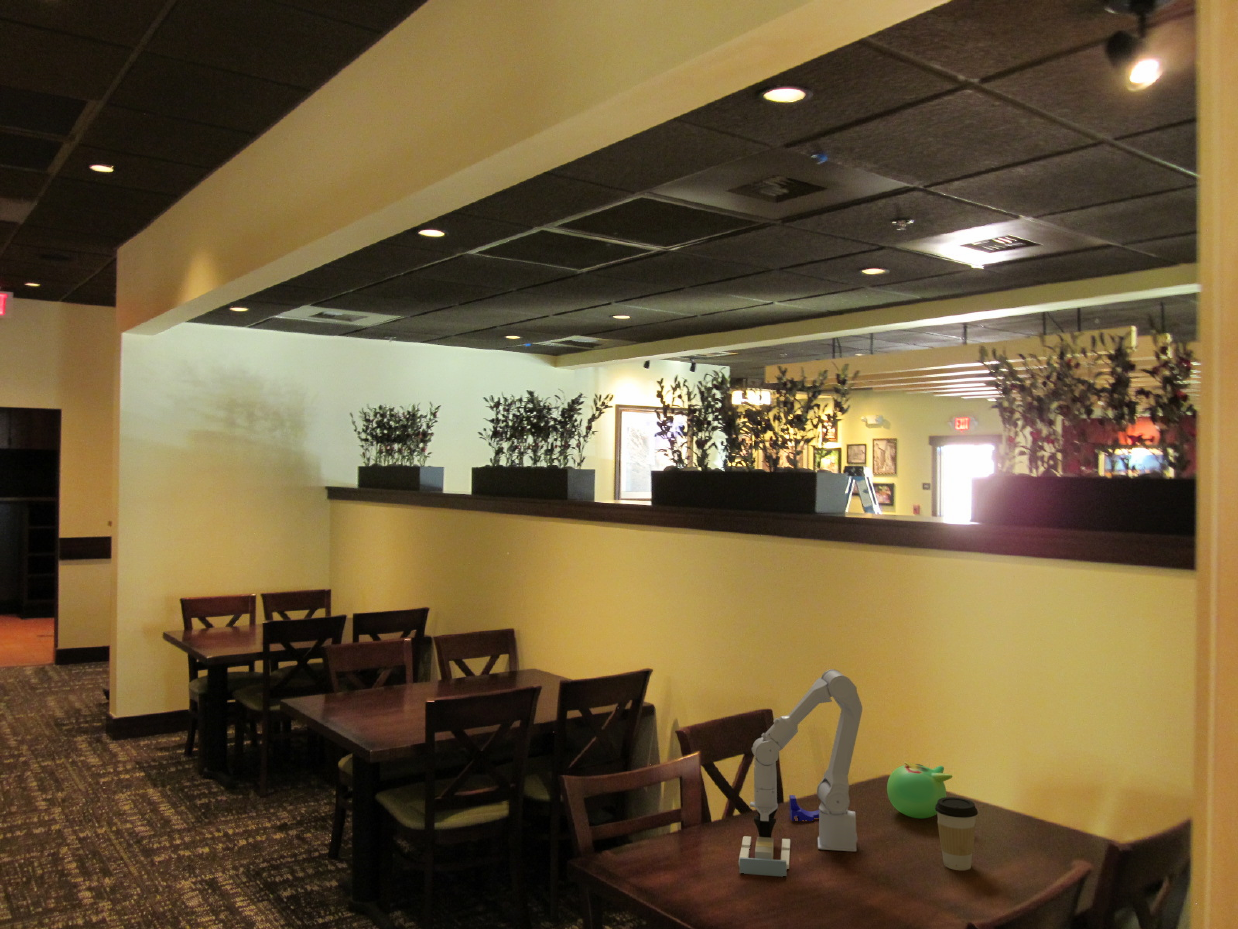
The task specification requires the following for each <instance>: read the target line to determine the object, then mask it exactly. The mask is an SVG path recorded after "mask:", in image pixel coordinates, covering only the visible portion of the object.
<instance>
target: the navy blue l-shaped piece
mask: <svg viewBox="0 0 1238 929" xmlns="http://www.w3.org/2000/svg"><path fill="white" fill-rule="evenodd" d="M788 797H789V800H788V802H789V804H788V805H789V818H790V821H791V820H792V821H795V819H794V817H795V816H797V818H798V821H802V820H804V821H805V820H807V821H812V820H814V818H819V809H817V810H814V811H812V810H811V811H809V810H805V809H803V808H802V807H801V806H800V805H799V804H798V802H797V797H796V795H795V794H789V796H788ZM792 821H791V822H792ZM814 821H815V820H814Z"/></svg>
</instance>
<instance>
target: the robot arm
mask: <svg viewBox="0 0 1238 929" xmlns="http://www.w3.org/2000/svg"><path fill="white" fill-rule="evenodd" d="M831 697H832V698H833V699H834V701H835V702H836V704H837V705H838V707H839V708H840V713H839V718H838V722H837V727H836V732H835V735H834V741H833V745H832V750H831V754H830V758H829V763H828V768H827V769H826V770H825V772H824V773H823V777H822V780H821V781H820V782H819V783H818V785H817V788H816V794H817V797H818V799H819V800H820V804H819V805H818V810H819V820H818V832H819V835H818V836H817V849H818V850H825V851H840V852H841V851H843V852H857V842H858V834H857V820H856V819H857V818H856V811H854V810H849V807H850V802H851V801H850V796H849V790H850V783H849V773H850V768H851V763H852V758H853V754H854V750H855V746H856V740H857V737H858V731H859V727H860V723H861V718H862V713H863V705H862V702H861V699H860V696H859V693H858V688H857V686H856V685H855V683H853V681H852V679H850V678H849V677H847V676H845V674H843V673H842V672H841V671H839V670H837V669H831V668H830V669H828V670H826V671H824V673H823V674H822V675H821V677H818V678H817V679H816V680H815V681H814V683H813V684H812V686H811V687H810V688H809V689H808V690H807V692H806V693H805V694H804V696H803V697H802V698H801V699H800V701H799V702H798V703H797V704H796V705H795V706H794V708H793V709H792V710H791V711H790V712H789V713H788V714H787V715H780V716H779V718H778V717H775V718H774V719H773V724H772V725H771V726H770V728H768V730H767V731H766V732H762V734H760V735H761V737H759V738H757V739H756V740H755V741H754V742H753V744H752V747H751V752H752V754H753V756H754V767H753V781H754V782H753V783H754V784H753V788H754V789H753V790H754V792H753V794H754V798H753V800H754V801H750V802H749V807H750V808H754V809H755V810H756V812H757V815H754V816H753V821H754V824H755V826H756V828H757V831H758V832H757V833H758V837H769V838H772V834H773V830H774V826H775V825H776V824H777V823H776V822H777V818H775V816H776V814H777V811H778V806H779V804H778V799H777V798H778V793H777V792H778V791H777V789H778V788H777V784H778V783H777V765H776V764H777V762H776V761H778V760H779V757H780V751H782V750H783V749H784V748H785V747H786V746H787V744H788V743H789V742H791V740H793V738H794V737H795V736H796V735H797V734H798V731H799V730H798V729H799V728H798V726H799V724H800V723H802V721H804V719H806V718H807V716H808V715H809V714H811V713H812V711H813V710H814V709H815V708H816V707H817V706H818V705H819V704H824V703H832V702H833V700H832V698H831Z"/></svg>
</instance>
